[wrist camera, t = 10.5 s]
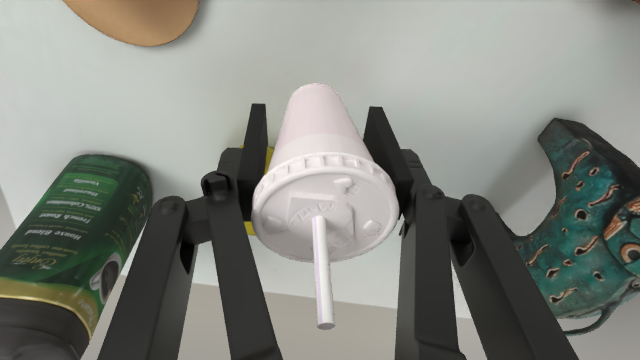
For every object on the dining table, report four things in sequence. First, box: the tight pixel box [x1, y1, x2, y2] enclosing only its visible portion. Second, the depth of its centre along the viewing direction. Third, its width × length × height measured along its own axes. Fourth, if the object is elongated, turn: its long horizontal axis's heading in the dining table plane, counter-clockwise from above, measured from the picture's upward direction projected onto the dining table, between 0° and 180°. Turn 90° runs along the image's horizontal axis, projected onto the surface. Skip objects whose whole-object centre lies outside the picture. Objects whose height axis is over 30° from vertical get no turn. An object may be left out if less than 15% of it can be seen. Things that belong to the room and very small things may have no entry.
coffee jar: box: [0, 155, 152, 360], centre depth 26 cm, size 10×8×19 cm
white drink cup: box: [251, 83, 399, 330], centre depth 15 cm, size 6×6×14 cm
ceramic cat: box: [496, 118, 640, 336], centre depth 29 cm, size 20×6×20 cm, turn 167°
